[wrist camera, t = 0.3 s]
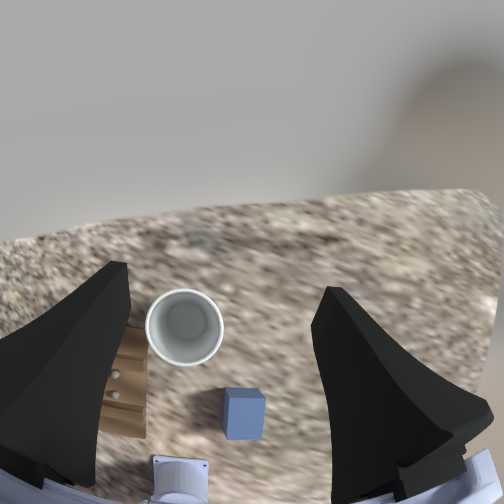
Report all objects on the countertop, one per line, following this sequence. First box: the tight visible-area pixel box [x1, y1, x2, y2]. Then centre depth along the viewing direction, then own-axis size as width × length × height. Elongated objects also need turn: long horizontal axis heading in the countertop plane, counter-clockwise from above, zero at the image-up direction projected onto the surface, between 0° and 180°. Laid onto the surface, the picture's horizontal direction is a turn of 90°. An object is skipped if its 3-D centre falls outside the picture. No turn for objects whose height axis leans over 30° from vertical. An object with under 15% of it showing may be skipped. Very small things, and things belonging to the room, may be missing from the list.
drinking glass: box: [145, 288, 224, 366], centre depth 30 cm, size 7×7×15 cm
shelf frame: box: [98, 326, 148, 439], centre depth 32 cm, size 16×12×4 cm
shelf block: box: [222, 387, 266, 440], centre depth 34 cm, size 6×4×5 cm
